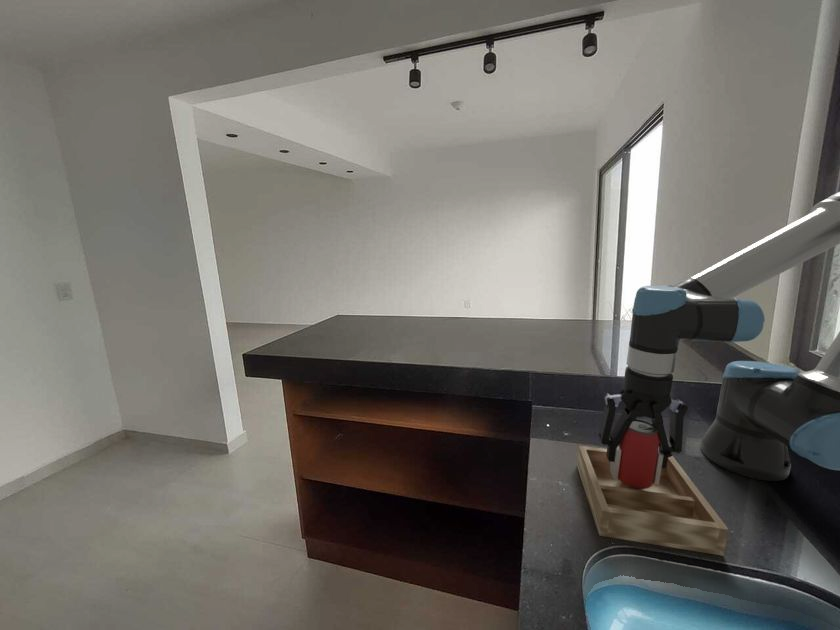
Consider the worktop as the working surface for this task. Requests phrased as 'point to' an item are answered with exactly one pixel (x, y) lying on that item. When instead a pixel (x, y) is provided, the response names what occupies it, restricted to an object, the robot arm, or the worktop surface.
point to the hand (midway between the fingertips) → (633, 477)
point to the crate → (651, 507)
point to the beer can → (638, 455)
